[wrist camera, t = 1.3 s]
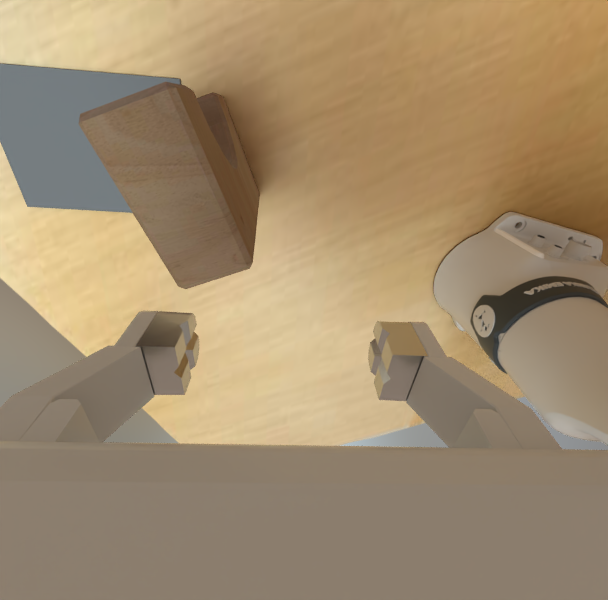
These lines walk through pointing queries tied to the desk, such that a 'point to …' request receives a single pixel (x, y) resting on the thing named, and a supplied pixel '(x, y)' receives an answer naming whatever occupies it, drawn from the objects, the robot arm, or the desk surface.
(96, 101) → the felt mat
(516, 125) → the desk surface
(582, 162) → the desk surface
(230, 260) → the decorative block
